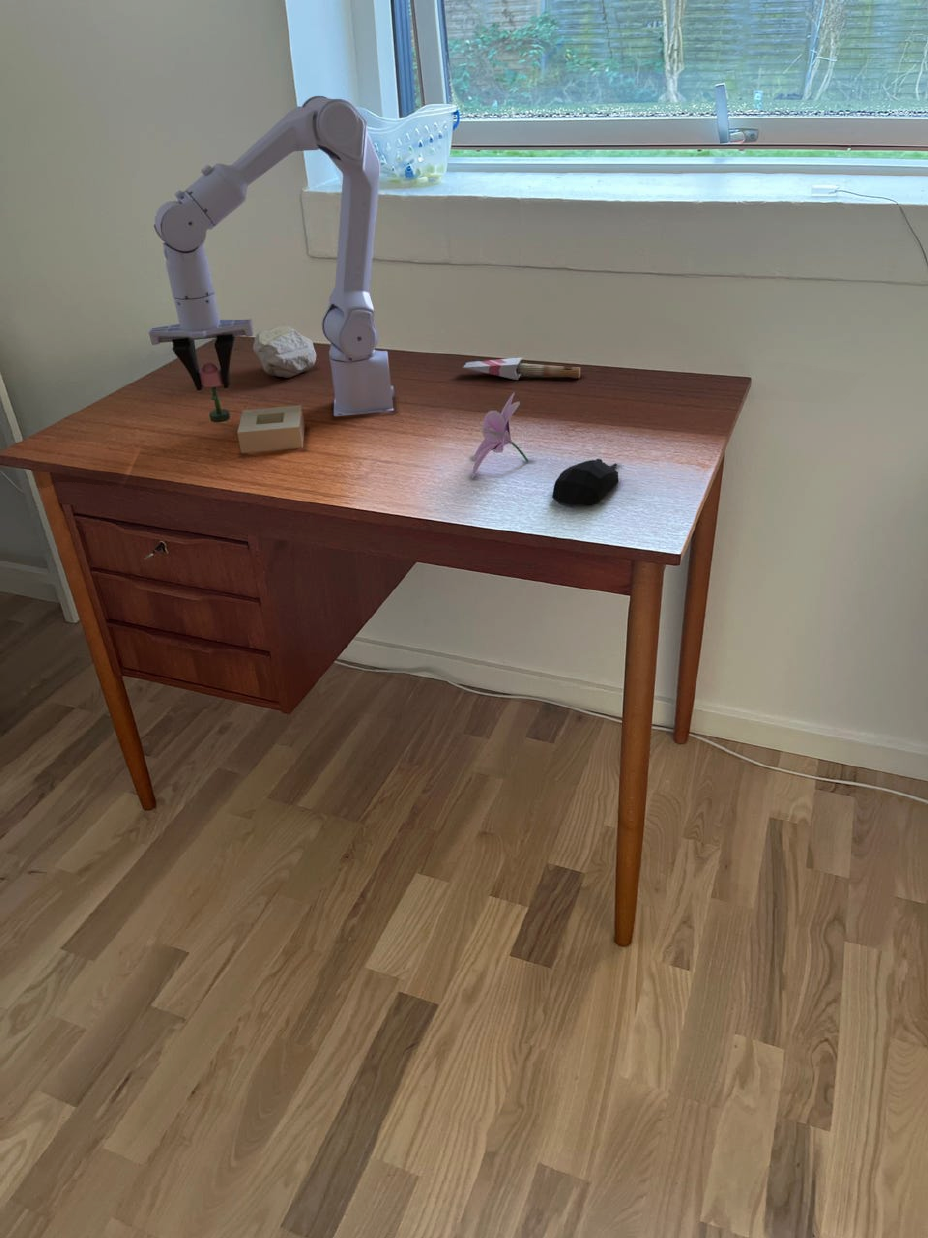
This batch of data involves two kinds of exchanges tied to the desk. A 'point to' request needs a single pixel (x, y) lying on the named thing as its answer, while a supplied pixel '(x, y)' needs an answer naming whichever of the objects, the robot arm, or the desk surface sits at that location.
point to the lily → (496, 433)
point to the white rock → (284, 351)
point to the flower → (214, 390)
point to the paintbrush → (521, 369)
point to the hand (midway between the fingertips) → (213, 387)
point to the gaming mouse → (585, 483)
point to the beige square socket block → (271, 429)
